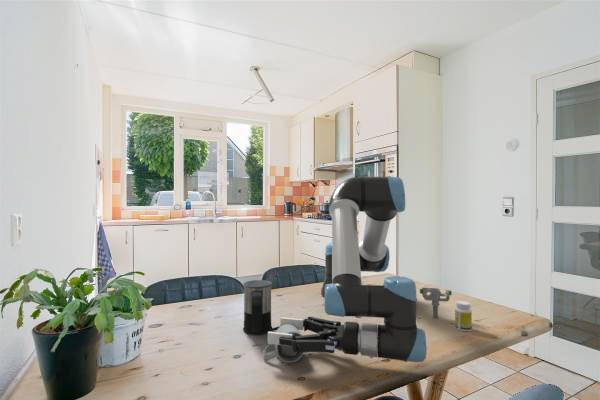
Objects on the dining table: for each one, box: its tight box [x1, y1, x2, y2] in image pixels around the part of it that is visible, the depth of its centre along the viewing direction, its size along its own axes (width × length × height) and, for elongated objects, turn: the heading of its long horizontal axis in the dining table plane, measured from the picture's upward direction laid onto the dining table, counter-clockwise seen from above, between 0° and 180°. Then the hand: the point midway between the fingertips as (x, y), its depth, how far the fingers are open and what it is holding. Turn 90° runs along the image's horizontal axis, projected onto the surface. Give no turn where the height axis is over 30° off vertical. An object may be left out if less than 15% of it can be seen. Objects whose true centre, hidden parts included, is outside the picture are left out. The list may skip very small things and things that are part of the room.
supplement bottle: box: [454, 300, 473, 332], centre depth 103 cm, size 5×5×8 cm
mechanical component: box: [419, 287, 453, 319], centre depth 113 cm, size 3×10×10 cm, turn 78°
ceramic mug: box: [262, 324, 305, 364], centre depth 84 cm, size 11×8×8 cm
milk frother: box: [242, 279, 280, 336], centre depth 101 cm, size 14×16×15 cm
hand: (274, 329), depth 85 cm, fingers closed on ceramic mug, 10 cm apart
